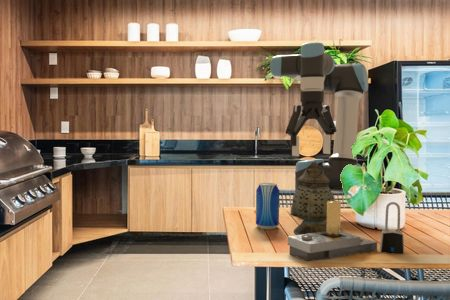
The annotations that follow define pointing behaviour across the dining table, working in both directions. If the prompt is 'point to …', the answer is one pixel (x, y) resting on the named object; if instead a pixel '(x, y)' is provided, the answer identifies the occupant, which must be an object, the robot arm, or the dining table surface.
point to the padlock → (392, 236)
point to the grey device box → (328, 245)
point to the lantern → (312, 200)
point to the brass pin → (333, 219)
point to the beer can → (267, 206)
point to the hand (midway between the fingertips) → (311, 154)
